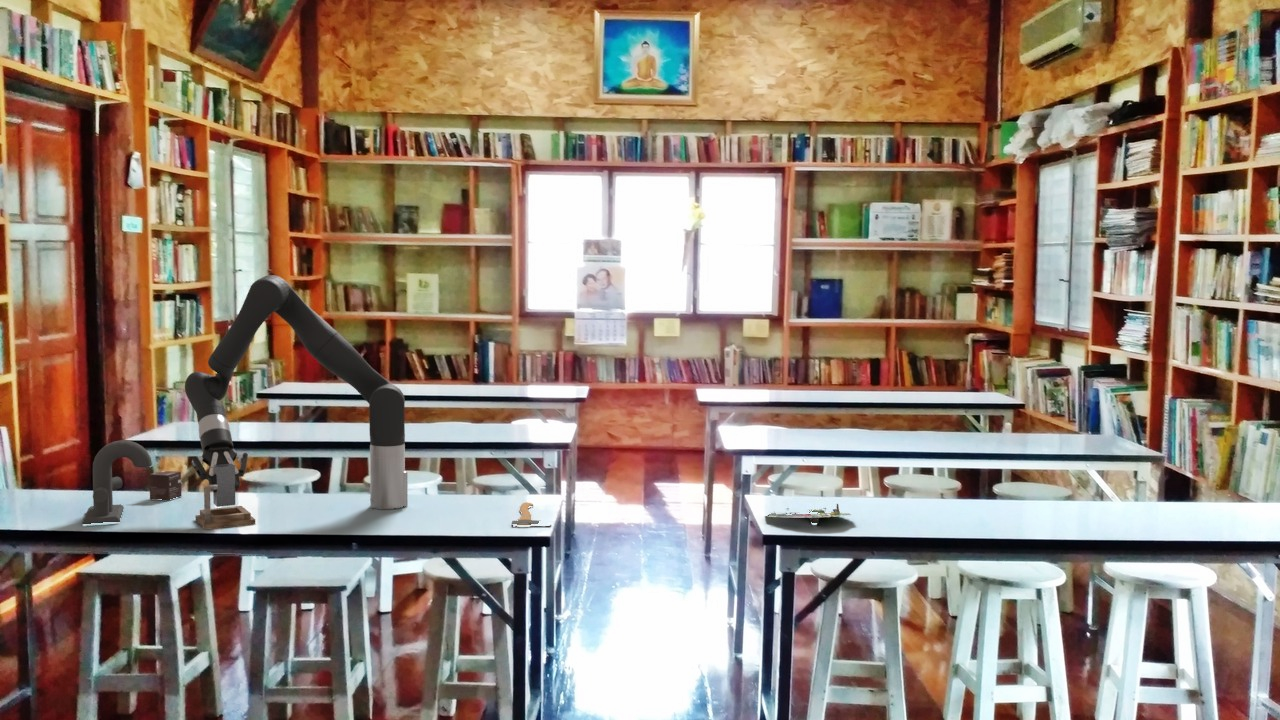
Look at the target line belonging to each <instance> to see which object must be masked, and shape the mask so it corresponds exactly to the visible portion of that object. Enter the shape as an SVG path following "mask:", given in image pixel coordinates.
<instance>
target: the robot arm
mask: <svg viewBox="0 0 1280 720" xmlns="http://www.w3.org/2000/svg"><path fill="white" fill-rule="evenodd" d="M273 313H275V314H277V315H278V316H279V317H280V318H281V319H282V320H283V321H285V322H286V323H287V324H288V325H289V327H290V328H291V329H292V330H294V333H295V334H296V336H297V338H298V339H299V341H300V342H301V344H302V345H303V347H304V348H305V350H306V351H307V352H308V353H309V354H310V355H311V357H313V358H314V359H315V360H316V361H317V362H318V363H319V364H320V365H322V366H323V367H324V368H325V369H326V370H328V371H329V372H330V373H332V374H333V375H334V376H336V377H337V378H339V379H341V380H342V381H344V382H345V383H347V384H349V385H350V386H351V387H353V389H355V390H356V391H357V392H358V393H359V394H360V396H362V397H363V399H364V400H365V401H366V402H367V403H368V404H369V409H368V413H369V415H368V417H369V421H368V423H369V443H370V445H369V456H370V457H369V462H370V464H369V465H370V467H369V477H370V478H369V480H370V484H369V485H370V487H369V491H370V493H369V494H370V500H369V501H370V503H369V504H370V508H371V509H375V510H376V509H377V510H394V508H396V509H400V507H401V508H403V506H404V507H408V499H409V497H408V496H409V495H408V494H409V493H408V490H409V489H408V486H409V485H408V482H409V481H408V471H406V468H405V467H406V463H405V462H406V457H405V456H406V455H405V454H406V452H405V451H406V450H405V449H406V448H405V447H406V445H405V443H406V440H405V439H406V433H405V424H406V423H405V413H406V412H405V409H406V408H405V404H406V403H405V402H406V400H405V395H404V393H403V391H402V390H401V389H400V388H399V387H398V386H396V385H395V384H393V383H392V382H391V381H389V380H388V379H386V378H385V377H384V376H383V375H382V374H380V373H379V372H377V370H375V369H374V368H373V367H372V366H371V365H370V364H369V363H368V362H367V360H366V359H365V358H364V357H363V356H362V355H361V353H359V351H358V350H356V349H355V347H354V346H352V345H351V343H350V342H349V341H348V340H346V339H345V338H344V337H343V335H341V334H340V333H339V332H338V331H337V330H336V329H335V328H333V326H331V325H330V324H329V323H328V322H327V321H326V320H325V319H324V318H322V317H321V316H320V315H319V314H318V313H317V312H316V311H314V309H312V308H311V307H310V306H309V305H308V304H307V303H306V302H305V301H304V300H303V299H302V298H301V296H299V294H298V293H297V292H296V291H295V289H294V288H293V287H292V286H291V285H290V284H289V283H288V282H287V281H286V280H285V279H283V278H282V277H281V276H278V275H272V274H268V275H264V276H262V277H260V278H259V279H257V280H255V281H254V282H252V284H251V285H250V287H249V289H248V292H247V294H246V296H245V299H244V301H243V303H242V306H241V307H240V310H239V312H238V314H237V316H236V317H235V319H234V321H233V323H232V324H231V325H230V326H229V328H228V330H227V332H226V333H225V334H224V336H223V337H222V338H221V340H220V341H219V343H218V344H217V345H216V347H215V349H214V350H213V352H212V353H211V354H210V356H209V358H208V359H207V365H208V367H209V368H210V369H211V370H212V371H214V372H215V373H216V374H215V375H212V374H208V373H205V372H201V371H193V372H192V373H190V374H189V375H188V376H187V377H186V379H185V383H184V391H185V395H186V397H187V399H188V400H189V401H188V402H189V403H190V405H191V406H192V408H193V410H194V411H195V413H196V418H197V423H198V436H199V441H200V446H201V450H202V451H201V452H202V454H201V456H196V455H194V456H193V457H192V460H191V466H192V468H193V470H194V471H195V472H196V474H197V475H198V477H199V479H200V480H201V481H203V480H206V481H208V485H217V484H216V478H215V476H214V465H216V464H233V465H234V466H235V492H236V491H238V489H240V485H241V481H240V477H244V475H245V472H246V468H247V462H248V455H249V454H248V453H247V452H244V453H243V454H241V453H237V451H236V449H235V448H234V443H233V437H232V433H231V428H230V424H229V422H228V420H227V413H226V410H225V405H224V404H223V403H222V402H221V401H222V400H223V399H224V398H225V397H226V395H227V391H228V390H229V386H230V381H231V379H232V377H233V373H234V372H235V370H236V368H237V366H238V365H239V364H240V362H241V361H242V360H243V358H244V357H245V355H246V353H247V351H248V350H249V347H250V346H251V342H252V340H253V339H254V337H255V335H256V334H257V331H258V330H259V329H260V327H261V326H262V325H263V323H265V321H266V320H267V319H268V318H269V317H270V316H271V315H272V314H273ZM236 460H238V463H239V464H240V467H239V469H238V468H237V467H236V463H235V461H236ZM203 463H204V464H206V465H207V466H208V467H210V468H209V472H208V471H206V469H205V467H204V466H203ZM211 491H212V492H213V493H215V492H217V489H216V490H210V492H211Z"/></svg>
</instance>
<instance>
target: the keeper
mask: <svg viewBox="0 0 1280 720" xmlns="http://www.w3.org/2000/svg"><path fill="white" fill-rule="evenodd" d="M216 489H218V485H209V484H208V485H205V486H204V488H203V499H204V502H203V504H204V505H203V508H204V509H199V514H198V515H197V514H196V515H195V517H194V518H195V521H196V523H198V524H199V526H201V527H202V528H203V529H204V530H206V531H207V530H213V529H222V528H223V529H224V528H231V527H241V526H250V525H256V519H255V518H254V517H253V516H252V514H251V512H250V511H249V510H247V509H246V508H245V507H243V506H242V505H238V506H236V505H233V506H223V507H215V508H211V490H216Z"/></svg>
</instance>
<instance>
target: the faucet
mask: <svg viewBox="0 0 1280 720" xmlns="http://www.w3.org/2000/svg"><path fill="white" fill-rule="evenodd" d="M120 458H126V459H128V460H130V461H131V463H132V464H133V466H134V467H136V468H151V466H153V461H152V458H151V456H150V454H149V452H148V451H147V449H145V448H144V446H143V445H140V444H139V443H137V442H134V441H130V440H125V439H124V440H123V439H122V440H115V441H112V442H110V443H107V444H105V445H104V446H103V447H102V448H101V449H100V450H98V452H97V454H96V455H95V456H94V458H93V459H94V460H93V462H92V499H93V504H92V506H89V507H88V508H87V511H86V513H85V514H84V518H83V520H82V522H81V525H82V524H91V523H103V522H120V523H121V521H120V518H121V519H122V517H121V515H122V516H123V514H122V512H123V513H124V511H123V509H124V510H125V508H124V505H122V504H113V503H114V501H113V491H115V490H119V489H121V488H122V487H123V484H124V483H123V480H122V478H121V477H120V476H114V477H113V470H112V469H113V468H112V467H113V463H114V462H115V461H116V460H117V459H120Z"/></svg>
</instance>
